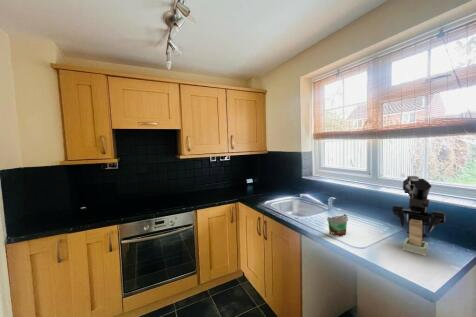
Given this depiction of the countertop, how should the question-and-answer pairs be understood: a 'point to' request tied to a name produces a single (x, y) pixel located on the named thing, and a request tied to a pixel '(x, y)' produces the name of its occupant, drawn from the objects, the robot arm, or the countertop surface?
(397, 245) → the countertop surface
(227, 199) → the countertop surface
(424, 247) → the end cap
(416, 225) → the slat
